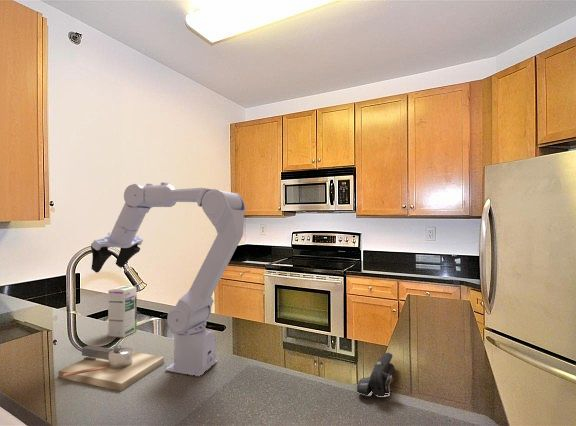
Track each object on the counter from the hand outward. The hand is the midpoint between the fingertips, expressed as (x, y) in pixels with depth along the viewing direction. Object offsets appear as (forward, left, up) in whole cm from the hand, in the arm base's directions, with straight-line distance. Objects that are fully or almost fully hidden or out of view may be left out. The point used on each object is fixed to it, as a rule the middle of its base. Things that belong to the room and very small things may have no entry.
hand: (107, 268), depth 84 cm
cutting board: (-11, +8, -22) cm, 26 cm away
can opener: (-72, -5, -23) cm, 76 cm away
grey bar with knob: (-9, +8, -21) cm, 24 cm away
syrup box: (+6, -11, -23) cm, 26 cm away
